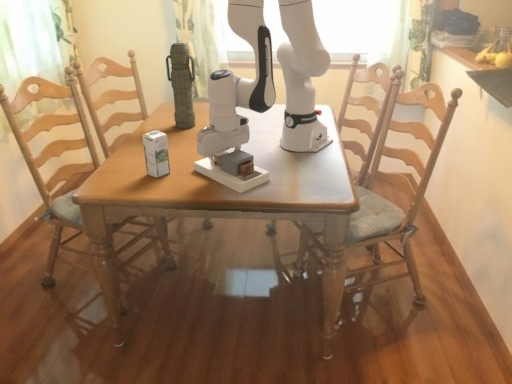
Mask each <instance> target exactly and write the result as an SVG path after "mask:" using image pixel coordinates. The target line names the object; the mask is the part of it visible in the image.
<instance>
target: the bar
mask: <svg viewBox="0 0 512 384" xmlns="http://www.w3.org/2000/svg"><path fill="white" fill-rule="evenodd" d="M228 153H229V152H228V151H227V150H225V151H222V152H219V153H216V154H214V159H215V160H217V165H218V166H220V167H221V156H222V155H225V154H228ZM254 166H255V163H254V162H253V163H252V162H249V161H246V162H244V163H241V164H238V175H240V176H242V177H246V176H248V175H251V174H253V173H254Z"/></svg>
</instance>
